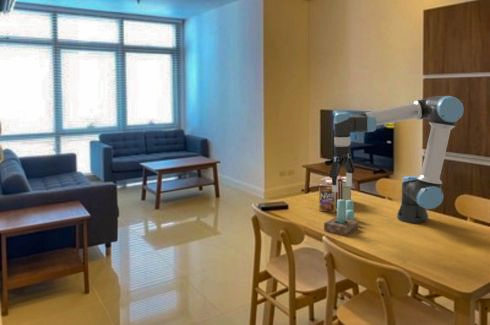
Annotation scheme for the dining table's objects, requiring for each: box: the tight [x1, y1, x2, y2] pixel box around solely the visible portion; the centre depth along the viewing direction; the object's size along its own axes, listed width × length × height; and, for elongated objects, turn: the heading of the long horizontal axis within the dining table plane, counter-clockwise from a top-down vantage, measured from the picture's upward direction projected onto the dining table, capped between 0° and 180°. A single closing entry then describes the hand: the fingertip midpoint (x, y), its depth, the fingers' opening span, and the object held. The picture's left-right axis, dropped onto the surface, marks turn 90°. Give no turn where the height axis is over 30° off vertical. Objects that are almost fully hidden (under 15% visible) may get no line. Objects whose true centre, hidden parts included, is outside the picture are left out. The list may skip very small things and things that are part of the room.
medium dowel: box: [345, 199, 355, 211], centre depth 222 cm, size 4×4×10 cm
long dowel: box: [336, 199, 346, 224], centre depth 205 cm, size 4×4×15 cm
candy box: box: [318, 183, 337, 213], centre depth 237 cm, size 9×4×15 cm, turn 61°
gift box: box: [319, 174, 353, 207], centre depth 252 cm, size 17×18×17 cm
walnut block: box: [323, 216, 359, 236], centre depth 206 cm, size 12×12×4 cm
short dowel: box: [345, 209, 355, 221], centre depth 214 cm, size 4×4×7 cm
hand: (342, 188), depth 202 cm, fingers open, 13 cm apart
